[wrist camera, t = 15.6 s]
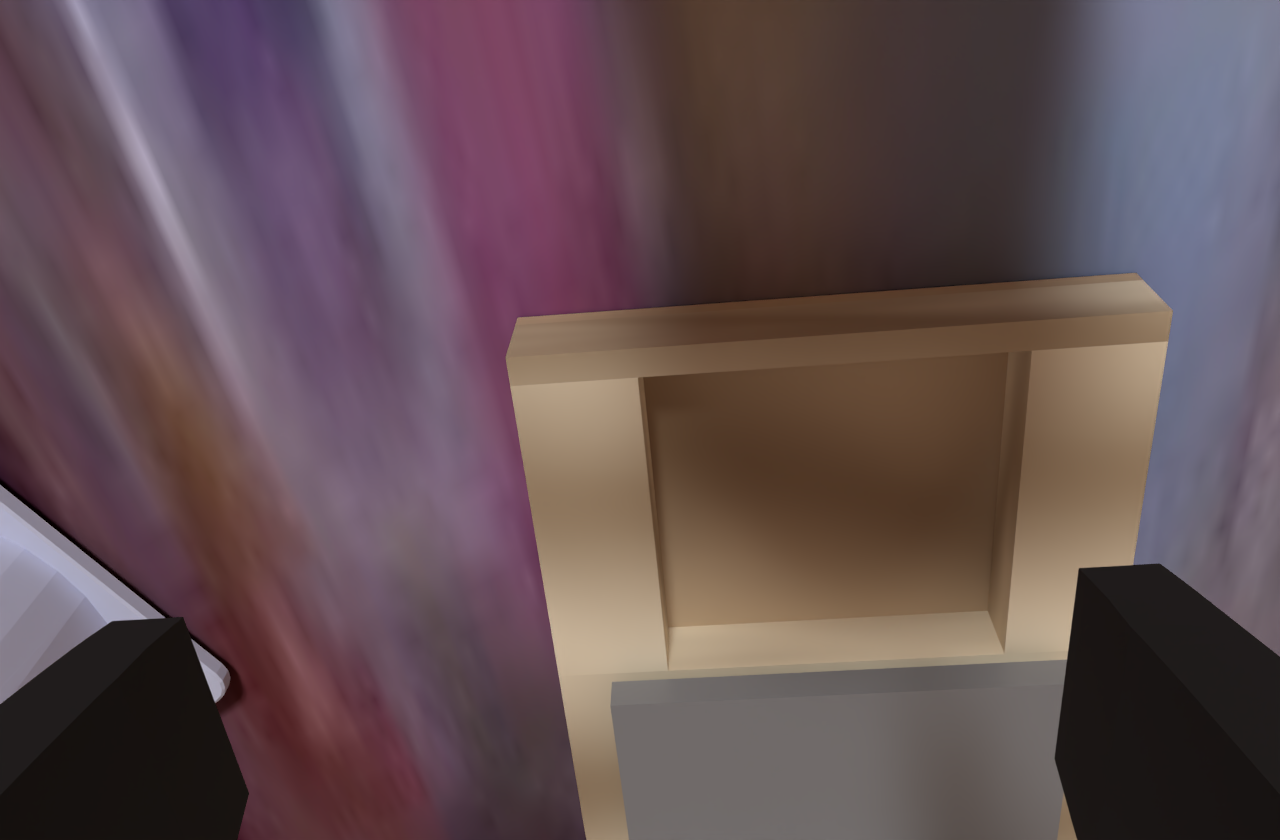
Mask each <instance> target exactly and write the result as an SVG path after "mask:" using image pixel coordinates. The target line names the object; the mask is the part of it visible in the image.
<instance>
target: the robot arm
mask: <svg viewBox="0 0 1280 840" xmlns="http://www.w3.org/2000/svg"><path fill="white" fill-rule="evenodd" d="M230 679H231V677H230V674H229V671H228V670H227V668H226V667H225V666H224V665H223V664H222V663H221V662H220V661H218V660H217V659H216V658H215V657H213V656H212V655H211V654H210V653H208V652H207V651H206V650H205V649H203V648H202V647H201V646H200V645H198V644H197V643H196V642H195V641H193V640H192V639H191V637H190V634H189V632H188V629H187V626H186V624H185V621H184V618H183V617H176V618H165V617H164V616H162V615H161V614H160V613H159V612H157V611H156V610H155V609H154V608H153V607H151V606H150V605H149V604H148V603H146V602H145V601H144V600H143V599H141V598H140V597H139V596H138V595H136V594H135V593H134V592H133V591H131V590H130V589H129V588H128V587H126V586H125V585H124V584H123V583H121V582H120V581H119V580H118V579H117V578H115V577H114V576H113V575H112V574H110V573H109V572H108V571H107V570H105V569H104V568H103V567H102V566H100V565H99V564H98V563H97V562H95V561H94V560H93V559H92V558H90V557H89V556H88V555H87V554H85V553H84V552H83V551H82V550H81V549H79V548H78V547H77V546H76V545H74V544H73V543H72V542H71V541H69V540H68V539H67V538H66V537H64V536H63V535H62V534H61V533H59V532H58V531H57V530H56V529H54V528H53V527H52V526H51V525H49V524H48V523H47V522H46V521H45V520H43V519H42V518H41V517H40V516H38V515H37V514H36V513H35V512H33V511H32V510H31V509H30V508H28V507H27V506H26V505H25V504H23V503H22V502H21V501H20V500H18V499H17V498H16V497H15V496H13V495H12V494H11V493H10V492H9V491H7V490H6V489H5V488H4V487H2V486H1V485H0V840H237V838H238V834H239V830H240V826H241V822H242V818H243V814H244V811H245V807H246V803H247V799H248V795H249V792H248V789H247V787H246V784H245V781H244V779H243V776H242V773H241V771H240V768H239V765H238V763H237V760H236V757H235V755H234V752H233V749H232V747H231V744H230V741H229V739H228V736H227V733H226V731H225V728H224V725H223V723H222V720H221V717H220V715H219V712H218V709H217V707H216V704H215V703H216V702H218V701H219V700H220V699H221V698H222V697H223V696H224V694H225V692H226V690H227V688H228V686H229V684H230ZM1054 759H1055V762H1056V766H1057V770H1058V773H1059V777H1060V781H1061V784H1062V788H1063V791H1064V795H1065V799H1066V802H1067V806H1068V809H1069V813H1070V817H1071V820H1072V824H1073V827H1074V831H1075V834H1076V837H1077V840H1280V657H1279V656H1278V655H1277V654H1276V653H1274V652H1273V651H1272V650H1270V649H1269V648H1268V647H1267V646H1265V645H1264V644H1263V643H1262V642H1260V641H1259V640H1258V639H1256V638H1255V637H1254V636H1253V635H1251V634H1250V633H1249V632H1248V631H1246V630H1245V629H1244V628H1243V627H1241V626H1240V625H1239V624H1237V623H1236V622H1235V621H1234V620H1232V619H1231V618H1230V617H1229V616H1227V615H1226V614H1225V613H1224V612H1222V611H1221V610H1220V609H1218V608H1217V607H1216V606H1215V605H1213V604H1212V603H1211V602H1210V601H1208V600H1207V599H1206V598H1204V597H1203V596H1202V595H1201V594H1199V593H1198V592H1197V591H1195V590H1194V589H1193V588H1192V587H1190V586H1189V585H1188V584H1186V583H1185V582H1184V581H1182V580H1181V579H1180V578H1178V577H1177V576H1176V575H1174V574H1173V573H1172V572H1170V571H1169V570H1168V569H1166V568H1165V567H1164V566H1162V565H1161V564H1144V565H1126V566H1108V567H1089V568H1079V570H1078V578H1077V586H1076V594H1075V602H1074V609H1073V617H1072V625H1071V633H1070V641H1069V648H1068V656H1067V664H1066V672H1065V680H1064V687H1063V695H1062V703H1061V711H1060V719H1059V727H1058V734H1057V742H1056V750H1055V758H1054Z"/></svg>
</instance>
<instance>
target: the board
mask: <svg viewBox="0 0 1280 840" xmlns="http://www.w3.org/2000/svg"><path fill="white" fill-rule="evenodd" d="M1172 313H1173V310H1172V309H1171V308H1170V307H1169V306H1168V305H1167V304H1166V303H1165V302H1164V301H1163V300H1162V299H1161V298H1160V297H1159V296H1158V295H1157V294H1156V293H1155V292H1154V291H1153V290H1152V289H1151V288H1150V287H1149V286H1148V285H1147V284H1146V283H1145V282H1144V281H1143V279H1142V278H1141V277H1140V276H1139V275H1138V274H1137V273H1127V274H1113V275H1099V276H1086V277H1072V278H1058V279H1044V280H1030V281H1017V282H1003V283H989V284H975V285H962V286H948V287H934V288H920V289H906V290H893V291H879V292H865V293H851V294H838V295H824V296H810V297H796V298H782V299H769V300H755V301H741V302H727V303H714V304H700V305H686V306H672V307H658V308H645V309H631V310H617V311H603V312H590V313H576V314H562V315H548V316H534V317H521V318H517V322H516V325H515V328H514V332H513V335H512V338H511V341H510V345H509V348H508V351H507V355H506V363H507V369H508V375H509V381H510V387H511V393H512V399H513V405H514V411H515V417H516V423H517V429H518V435H519V441H520V447H521V453H522V459H523V465H524V471H525V477H526V483H527V489H528V495H529V501H530V507H531V512H532V518H533V524H534V530H535V536H536V542H537V548H538V554H539V560H540V566H541V572H542V578H543V584H544V590H545V596H546V602H547V608H548V614H549V620H550V626H551V632H552V638H553V644H554V650H555V656H556V662H557V668H558V674H559V680H560V686H561V692H562V697H563V703H564V709H565V715H566V721H567V727H568V733H569V739H570V745H571V751H572V757H573V763H574V769H575V775H576V781H577V787H578V793H579V799H580V805H581V811H582V817H583V823H584V829H585V835H586V840H629V836H628V829H627V822H626V814H625V807H624V800H623V793H622V786H621V779H620V772H619V764H618V757H617V750H616V743H615V736H614V729H613V722H612V714H611V707H610V703H611V689H612V682H621V681H641V680H661V679H682V678H702V677H722V676H743V675H763V674H783V673H804V672H824V671H844V670H865V669H885V668H905V667H926V666H946V665H966V664H987V663H1007V662H1027V661H1048V660H1067V656H1068V648H1069V641H1070V633H1071V625H1072V617H1073V609H1074V602H1075V594H1076V586H1077V578H1078V570H1079V568H1089V567H1108V566H1126V565H1133V561H1134V555H1135V548H1136V542H1137V536H1138V529H1139V523H1140V517H1141V510H1142V504H1143V498H1144V491H1145V485H1146V478H1147V472H1148V466H1149V459H1150V453H1151V447H1152V440H1153V434H1154V428H1155V421H1156V415H1157V409H1158V402H1159V396H1160V390H1161V383H1162V377H1163V371H1164V364H1165V358H1166V351H1167V345H1168V339H1169V332H1170V326H1171V320H1172ZM1057 840H1077V837H1076V834H1075V831H1074V827H1073V824H1072V820H1071V817H1070V813H1069V809H1068V806H1067V802H1066V799H1065V795H1064V793H1063V800H1062V808H1061V815H1060V822H1059V830H1058V837H1057Z"/></svg>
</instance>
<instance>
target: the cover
mask: <svg viewBox="0 0 1280 840" xmlns="http://www.w3.org/2000/svg"><path fill="white" fill-rule="evenodd" d="M1066 664H1067V660H1048V661H1027V662H1007V663H987V664H966V665H946V666H926V667H905V668H885V669H865V670H844V671H824V672H804V673H783V674H763V675H743V676H722V677H702V678H682V679H661V680H641V681H621V682H612V689H611V703H610V707H611V714H612V722H613V729H614V736H615V743H616V750H617V757H618V764H619V772H620V779H621V786H622V793H623V800H624V807H625V814H626V822H627V829H628V836H629V840H1057V837H1058V830H1059V822H1060V815H1061V808H1062V800H1063V793H1064V791H1063V788H1062V784H1061V781H1060V777H1059V773H1058V770H1057V766H1056V762H1055V759H1054V758H1055V750H1056V742H1057V734H1058V727H1059V719H1060V711H1061V703H1062V695H1063V687H1064V680H1065V672H1066Z"/></svg>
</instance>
